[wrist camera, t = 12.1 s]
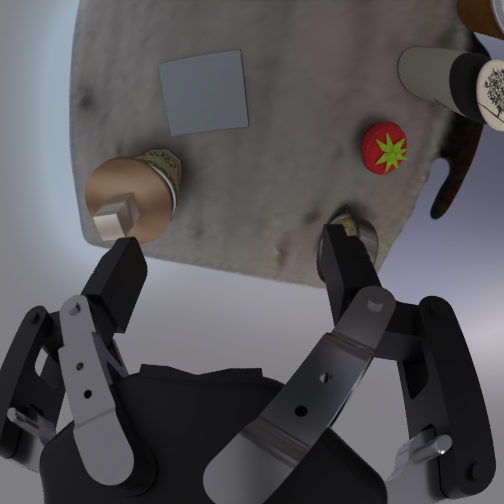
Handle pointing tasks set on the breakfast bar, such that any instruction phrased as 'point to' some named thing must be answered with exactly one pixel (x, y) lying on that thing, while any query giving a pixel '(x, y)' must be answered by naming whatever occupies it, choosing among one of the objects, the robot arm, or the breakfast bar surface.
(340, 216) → the alarm clock
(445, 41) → the breakfast bar surface
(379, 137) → the strawberry
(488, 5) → the disposable coffee cup
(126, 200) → the lid
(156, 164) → the ceramic cup
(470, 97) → the travel mug
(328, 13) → the breakfast bar surface
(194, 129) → the mat
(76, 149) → the breakfast bar surface
